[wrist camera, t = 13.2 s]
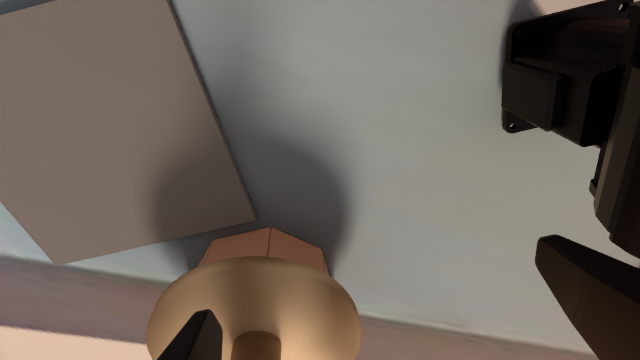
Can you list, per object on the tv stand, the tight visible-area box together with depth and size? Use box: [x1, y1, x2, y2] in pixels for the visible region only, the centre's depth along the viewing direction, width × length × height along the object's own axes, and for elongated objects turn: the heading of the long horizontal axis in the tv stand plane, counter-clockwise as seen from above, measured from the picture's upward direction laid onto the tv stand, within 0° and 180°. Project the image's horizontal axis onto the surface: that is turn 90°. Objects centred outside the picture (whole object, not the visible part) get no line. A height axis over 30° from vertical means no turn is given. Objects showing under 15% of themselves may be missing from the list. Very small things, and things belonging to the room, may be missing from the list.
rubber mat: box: [0, 0, 256, 266], centre depth 20 cm, size 15×15×1 cm
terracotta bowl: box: [196, 227, 330, 276], centre depth 24 cm, size 11×11×4 cm
